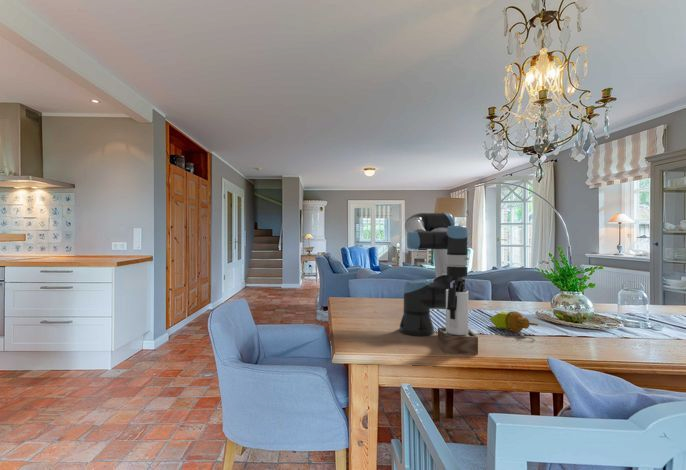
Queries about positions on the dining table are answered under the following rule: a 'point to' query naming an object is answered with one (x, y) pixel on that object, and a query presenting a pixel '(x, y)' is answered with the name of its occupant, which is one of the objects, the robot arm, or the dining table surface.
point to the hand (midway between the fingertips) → (456, 324)
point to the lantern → (511, 321)
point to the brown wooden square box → (458, 342)
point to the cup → (459, 314)
